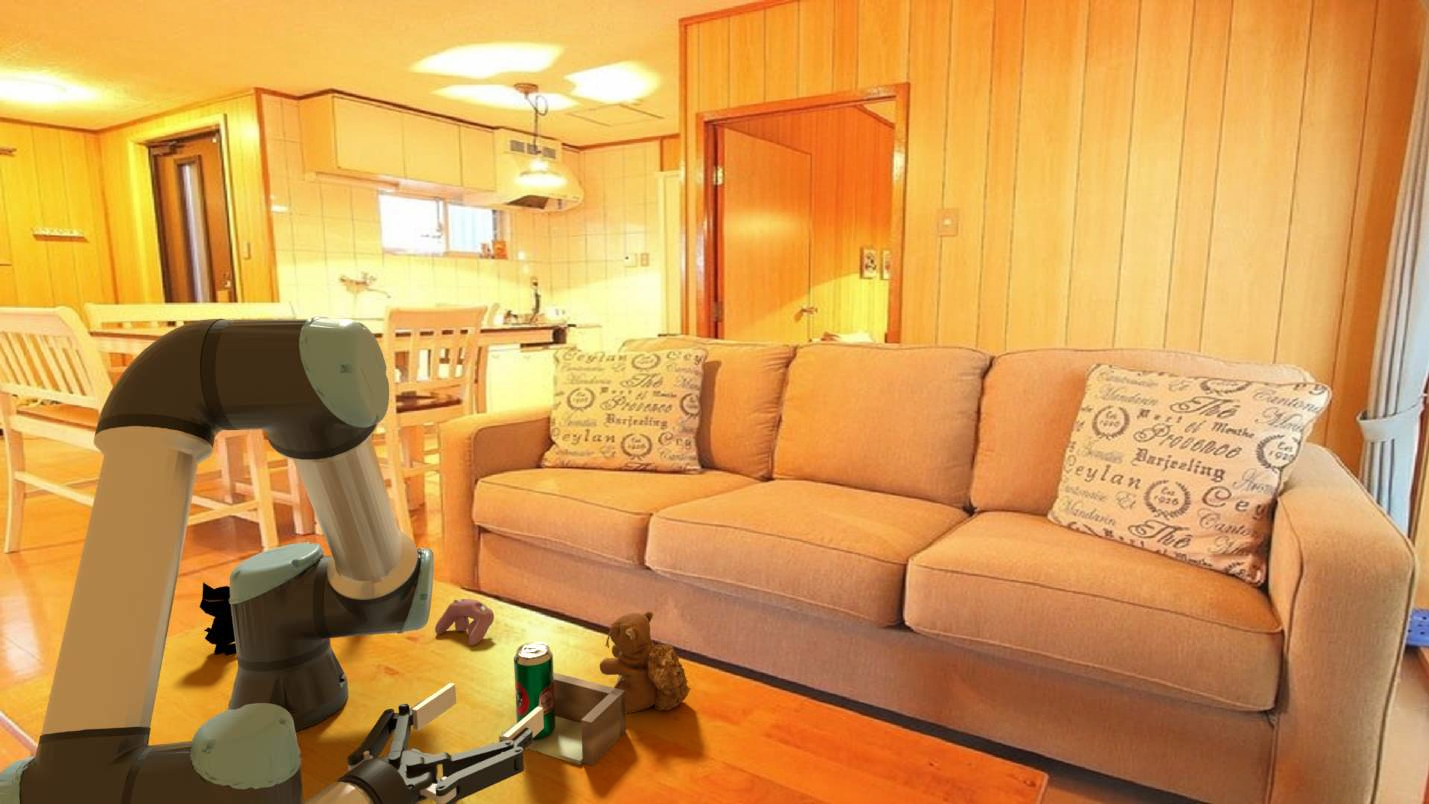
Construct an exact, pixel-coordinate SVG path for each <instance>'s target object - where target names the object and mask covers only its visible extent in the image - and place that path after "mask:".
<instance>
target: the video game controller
mask: <svg viewBox="0 0 1429 804" xmlns="http://www.w3.org/2000/svg"><path fill="white" fill-rule="evenodd" d="M469 619H472V621H471V622H470V620H469ZM494 619H495V615H494V611H493V609H491V608H489V607H488V606H487V605H486V604H484V603H483V602H481V601H479V600H477V599H470V598H464V599H463V598H460V599H454V600H453V602H451V603H449V605H448V607H447V608H446V609H445V611H444V612H443V614H442V615H441V616H440V618H439V619H438V621H437V622H436V624H435V627H434V632H435V634H437V636H438V635H442V634H443V633H445V632H447V630H449V628H451V626H452V625H453V624H454V628H455V630H456V631H457V632H466V631H467V632H468V634H469V638H468V644H469V645H470V646H471V647H474V646H476V645H478V644H479V643H480V642H482V640H483V638H484V637H485V636H486V634H487V632H488V630H489V628H490V627H491V625H493V622H494Z"/></svg>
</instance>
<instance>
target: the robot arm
mask: <svg viewBox="0 0 1429 804" xmlns="http://www.w3.org/2000/svg"><path fill="white" fill-rule="evenodd" d="M381 348H382V347H381V346H380V343H379V342H378V340H377V338H376V336H375V335H374V334H373V332H372V330H370V329H369V328H368V327H367V326H366V325H365V324H363V323H362V322H360V321H357V320H354V319H349V318H347V319H346V318H331V317H328V316H315V317H310V318H302V319H301V318H292V319H291V318H289V319H288V318H284V319H283V318H282V319H281V318H277V319H275V318H274V319H268V318H267V319H265V318H264V319H260V318H258V319H245V318H243V319H224V318H209V319H200V320H197V321H193V322H189V323H185V324H183V325H181V326H178V327H175V328H174V329H172V330H170V331H168V332H167V333H165V334H163V335H161V336H160V337H159V338H157V339H156V340H155V341H153V342H152V343H151V344H149V345H148V346H147V347H146V348H144V349H143V350H142V351H141V352H140V353H139V354H138V355H137V356H136V357H135V358H134V359H133V360H132V361H131V362H130V364H129V365H128V366H127V367H126V368H125V370H124V371H123V372H122V373H121V375H119V378H118V379H117V381H116V383H114V385H113V387H111V388H112V389H111V390H110V392H109V394H108V396H107V398H106V400H105V402H104V404H103V406H102V409H101V411H100V414H99V416H98V417H99V418H98V421H97V425H96V428H95V432H94V438H93V445H94V446H95V448H96V449H98V451H100V452H101V454H102V455H103V458H102V462H101V463H102V464H101V469H100V472H99V476H98V481H97V486H96V489H95V495H94V499H93V502H92V508H91V512H90V517H89V520H88V526H87V530H86V533H85V539H84V544H83V548H82V551H81V555H80V560H79V565H78V569H77V574H76V578H75V582H74V587H73V592H72V595H71V600H70V605H69V609H68V613H67V619H66V623H65V627H64V632H63V635H62V641H61V646H60V650H59V654H58V658H57V661H56V662H57V663H56V667H55V672H54V675H53V676H54V677H53V680H52V684H51V689H50V692H49V693H50V694H49V697H48V700H47V701H48V702H47V706H46V711H45V714H44V715H45V716H44V720H43V724H42V730H41V731H40V732H41V733H40V736H39V739H38V744H37V746H36V747H37V748H36V751H35V754H34V756H29V757H26V758H21V759H19V760H16V761H14V762H12V763H11V764H9V765H8V766H5V768H4V769H2V770H1V772H0V804H418V803H421V802H423V801H425V800H428V799H430V800H432V801H433V802H436V803H435V804H456V803H457V802H459V801H460V800H462V799H465V798H467V797H469V796H472V795H474V794H476V793H478V792H480V791H483V790H485V789H487V788H490V787H491V786H494V785H496V784H498V783H501V782H503V781H505V780H507V779H511V778H512V777H514V776H516V775H519V774H521V773H523V771H525V762H524V761H525V759H524V751H525V750H526V748H527V747H528V746H529V745H530V744H531V743H532V741H533V737H535V736H536V735H537V734H538V733H539V732H540V731H541V730H542V729H544V720H543V708H542V707H537V708H535V709H534V710H533V711H532V712H531V713H529V714H528V715H527V716H526V717H525V718H523V719H522V720H521V721H520V722H519V723H517V724H516V725H515V726H514V727H513V728H511V729H510V730H509V731H508V732H507V733H505V734H504V735H503V741H498V742H495V743H491V744H487V745H484V746H483V745H482V746H480V747H476V748H475V747H474V748H472V749H468V750H465V751H460V752H456V753H453V754H449V753H448V752H446V751H444V752H441V753H436V754H431V753H427V752H426V753H425V752H422V751H421V750H419V749H416V748H411V749H409V743H410V737H411V731H412V728H411V727H413V730H414V731H417V732H419V731H420V730H421V729H423V728H424V727H425V726H427V725H428V724H430V723H432V722H433V721H434V720H435V719H437V718H438V717H439V716H441V715H443V714H444V713H445V712H447V711H448V710H449V709H451V708H452V707H453V706H455V705H456V704H457V691H456V690H457V689H456V683H452V682H450V683H448V684H447V685H445V686H444V687H442V688H441V689H439V690H438V691H436V692H435V693H433V694H431V695H430V696H429V697H428V698H426V699H423V700H421V701H419V702H417V703H416V704H415V705H413V706H412V707H410V704H409V703H402V704H399V705H398V712H395V709H393V708H387V709H385V710H384V711H383V712H382V713H381V714H380V716H379V718H378V719H377V721H376V722H375V724H374V726H373V727H372V729H370V731H369V733H368V735H367V736H366V738H365V739H364V740H363V742H362V743H361V744H360V746H359V747H358V748H356V749H355V750H354V751H353V752H352V753H350V754H349V755H348V756H347V757H346V758H347V760H346V761H347V769H348V770H347V771H348V772H346V773H344V774H343V775H342V776H341V777H339V778H338V779H337V780H336V781H335V782H331V783H329V784H328V785H326V787H324V788H323V789H321V790H320V791H318V792H316V794H314V795H313V796H311V797H309V799H307V800H306V801H305V802H304V800H305V799H304V788H303V777H302V765H301V764H302V755H301V749H300V746H299V744H298V738H297V733H296V732H297V731H300V730H303V729H307V728H308V727H311V726H313V725H316V724H319V723H320V722H322V721H324V720H326V719H328V718H329V717H330V716H332V715H333V714H335V713H336V712H338V711H339V710H340V709H341V708H342V707H343V705H345V703H346V701H347V700H348V697H349V686H348V685H349V684H348V677H347V676H346V675H347V674H346V673H345V671H344V669H343V668H342V665H341V663H340V661H339V660H338V657H337V655H336V654H335V651H334V650H333V648H332V645H331V639H337V638H348V637H359V636H371V635H372V636H373V635H384V634H387V635H388V634H400V635H401V634H403V633H405V632H406V633H407V632H413V631H419V630H421V629H423V628H424V627H425V626H426V625H427V624H428V621H429V620H430V619H429V618H430V613H431V609H432V607H431V605H432V600H433V599H432V598H433V586H434V575H435V574H434V572H435V571H434V570H435V567H434V566H435V557H434V556H435V554H434V552H433V550H432V549H431V548H430V549H429V548H424V547H419V548H417V546H416V544H415V542H414V541H413V539H412V538H411V537H409V535H407V534H406V533H404V532H403V531H401V530H400V529H399V527H398V522H397V520H396V516H395V513H394V512H395V511H394V509H393V506H392V502H391V499H390V496H389V492H388V489H387V485H386V482H385V478H384V475H383V472H382V468H381V465H380V462H379V459H378V455H377V451H376V448H375V444H374V442H373V441H374V440H373V438H372V435H373V434H374V433H375V432H376V430H377V427H378V425H379V423H380V422H382V420H384V418H385V417H386V415H387V412H388V409H389V403H390V384H389V378H388V377H387V365H386V360H385V356H384V354H383V351H382V349H381ZM245 430H247V431H249V430H253V431H254V430H262V431H264V435H265V436H266V439H267V441H268V443H269V445H270V446H271V448H272V449H273V451H275V452H276V453H278V455H280V456H282V457H284V458H286V459H289V460H293V464H294V466H295V468H296V470H297V472H298V476H299V478H300V480H301V482H302V484H303V487H304V490H305V492H306V495H307V497H308V499H309V501H310V504H311V506H312V509H313V513H314V514H315V516H316V519H317V522H318V524H319V527H320V529H321V531H322V534H323V536H324V538H325V541H326V544H327V546H328V548H329V552H331V554H330V555H325V554H324V552H325V551H324V549H323V547H322V546H321V544H319V543H316V542H314V543H312V542H298V543H297V542H296V543H291V544H285V545H283V546H282V545H281V546H278V547H274V548H271V549H268V550H264V551H261V552H260V553H257V554H255V555H252V556H250V557H249V558H247V559H245V560H243V561H241V562H240V563H238V564H237V565H236V566H235V567H234V568H233V570H232V571H231V573H230V575H229V587H230V598H229V603H230V604H231V612H232V620H233V628H234V636H235V642H234V643H235V644H236V652H237V653H236V658H237V671H236V675H235V679H234V682H233V687H232V691H231V697H230V700H229V702H228V704H227V710H225V711H222V712H221V713H218V714H216V715H214V716H212V717H211V718H209V719H208V720H207V721H205V722H204V723H203V724H202V725H201V726H200V727H199V728H198V729H197V730H195V731H196V732H195V733H194V735H193V737H192V740H190V741H189V740H187V741H178V742H170V743H159V744H151V745H149V744H150V734H151V729H152V728H151V725H152V719H153V714H154V707H155V703H156V699H157V697H156V696H157V693H158V692H157V691H158V687H159V681H160V675H161V671H162V664H163V659H164V653H165V648H166V642H167V637H168V633H169V626H170V622H171V616H172V615H171V614H172V612H173V611H172V610H173V605H174V600H175V594H176V593H175V592H176V587H177V583H178V577H179V572H180V566H181V561H182V556H183V550H184V544H185V538H186V534H187V533H186V532H187V528H188V527H187V526H188V521H189V516H190V511H191V506H192V500H193V495H194V491H195V490H194V489H195V483H196V479H197V472H198V469H199V468H198V467H199V464H200V463H203V462H204V461H205V460H207V459H209V458H210V457H211V456H212V455H213V451H214V450H213V449H214V444H215V440H216V436H217V435H218V434H219V433H220V432H222V431H245ZM393 734H394V735H393ZM392 736H393V740H392V741H391V744H390V750H389V752H388V755H385V756H382V757H380V755H381V754H382V752H383V750H384V749H385V748H386V746H387V744H388V742H389V741H390V739H391V737H392ZM439 765H441V766H442V769H441V770H442V776H441V777H439V778H438V773H439V772H438V766H439Z"/></svg>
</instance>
